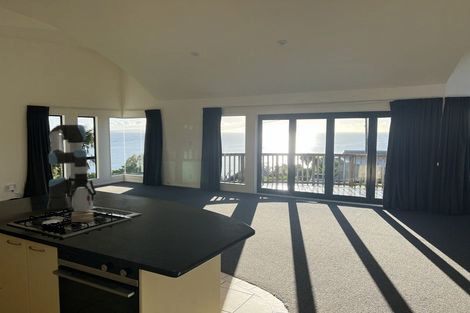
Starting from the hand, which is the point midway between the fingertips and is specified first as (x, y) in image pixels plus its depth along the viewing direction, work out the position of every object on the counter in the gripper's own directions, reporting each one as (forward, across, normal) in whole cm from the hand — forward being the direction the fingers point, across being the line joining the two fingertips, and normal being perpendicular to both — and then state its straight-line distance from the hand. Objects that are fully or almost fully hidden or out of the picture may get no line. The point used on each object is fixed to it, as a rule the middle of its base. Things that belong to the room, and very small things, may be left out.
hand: (82, 206), depth 224 cm
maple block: (+10, 0, 0) cm, 10 cm away
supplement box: (+3, +1, +2) cm, 4 cm away
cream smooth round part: (+9, -18, -3) cm, 20 cm away
